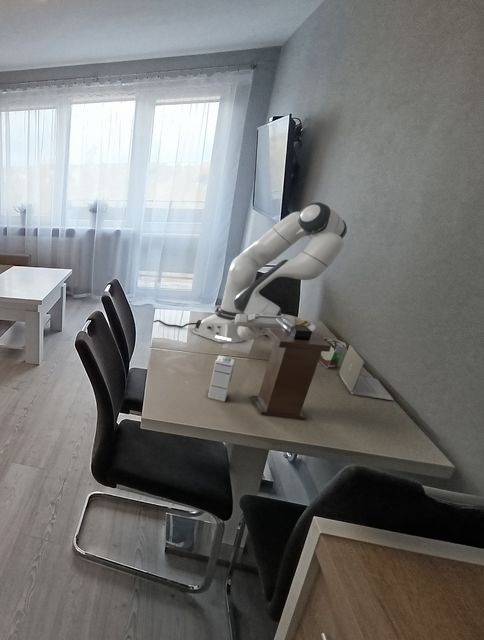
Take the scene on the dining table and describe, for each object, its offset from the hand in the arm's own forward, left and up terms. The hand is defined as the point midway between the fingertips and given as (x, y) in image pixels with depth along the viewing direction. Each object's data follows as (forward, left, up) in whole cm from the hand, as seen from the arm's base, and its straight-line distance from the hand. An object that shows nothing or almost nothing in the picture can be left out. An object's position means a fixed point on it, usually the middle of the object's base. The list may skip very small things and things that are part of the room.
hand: (270, 316), depth 152 cm
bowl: (-8, +66, -25) cm, 71 cm away
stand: (+12, -20, -25) cm, 34 cm away
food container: (+19, +36, -25) cm, 48 cm away
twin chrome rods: (+9, -15, +1) cm, 17 cm away
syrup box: (-5, -27, -25) cm, 37 cm away
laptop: (+32, +21, -25) cm, 46 cm away
